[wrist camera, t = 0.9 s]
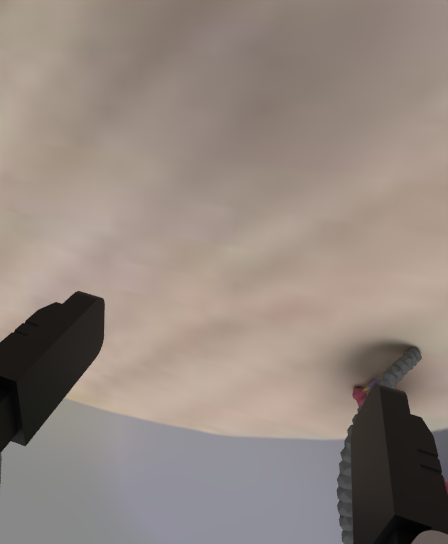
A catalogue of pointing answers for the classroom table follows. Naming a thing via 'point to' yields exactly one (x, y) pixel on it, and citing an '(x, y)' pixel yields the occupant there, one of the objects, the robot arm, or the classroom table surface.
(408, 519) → the robot arm
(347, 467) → the dna model
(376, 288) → the classroom table surface
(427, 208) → the classroom table surface
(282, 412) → the classroom table surface
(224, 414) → the classroom table surface
